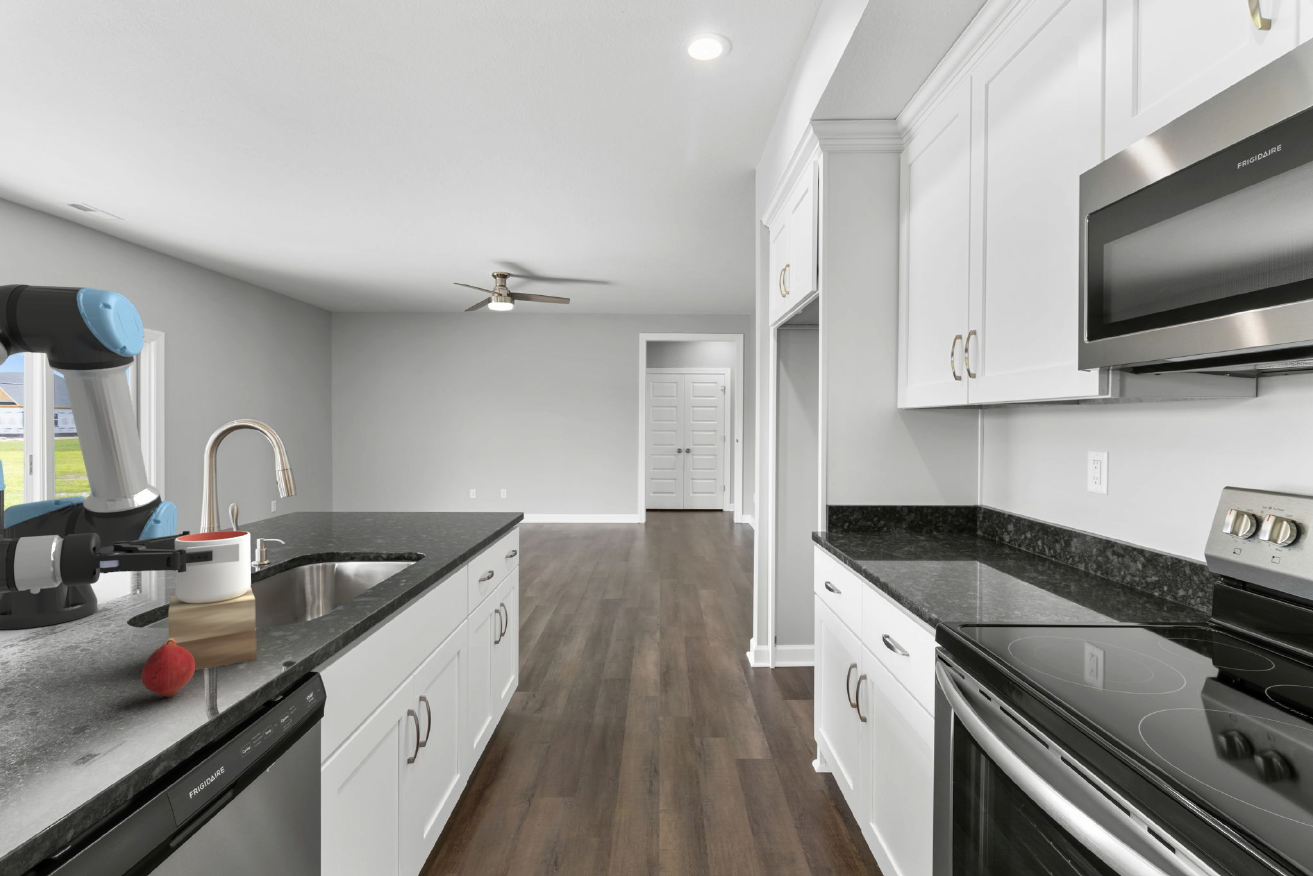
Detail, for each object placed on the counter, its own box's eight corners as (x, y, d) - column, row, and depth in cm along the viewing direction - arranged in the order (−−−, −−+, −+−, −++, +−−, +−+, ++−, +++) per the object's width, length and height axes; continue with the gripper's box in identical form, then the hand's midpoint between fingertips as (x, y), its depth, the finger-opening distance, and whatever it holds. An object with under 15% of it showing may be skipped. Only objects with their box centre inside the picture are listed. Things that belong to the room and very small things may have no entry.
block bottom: (173, 655, 102) (173, 625, 102) (252, 642, 109) (252, 614, 109) (169, 677, 93) (169, 644, 93) (256, 661, 100) (256, 630, 100)
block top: (170, 625, 102) (170, 595, 102) (250, 613, 109) (250, 585, 109) (168, 644, 93) (168, 611, 93) (255, 630, 100) (255, 599, 100)
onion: (152, 709, 82) (151, 649, 82) (134, 699, 85) (134, 641, 85) (202, 693, 87) (202, 637, 87) (184, 684, 90) (184, 629, 90)
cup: (212, 607, 95) (211, 542, 95) (158, 603, 97) (158, 540, 97) (265, 590, 105) (264, 531, 105) (215, 587, 107) (215, 529, 107)
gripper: (78, 570, 101) (235, 555, 113) (43, 606, 80) (240, 583, 93) (77, 524, 101) (235, 514, 113) (42, 548, 80) (240, 533, 93)
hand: (238, 545), depth 103 cm, fingers open, 13 cm apart
